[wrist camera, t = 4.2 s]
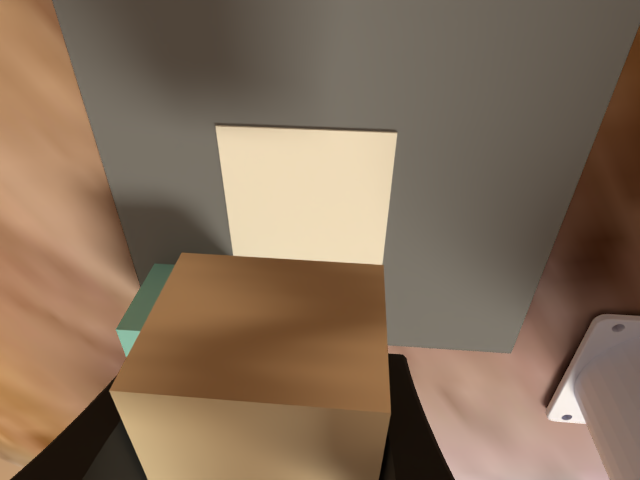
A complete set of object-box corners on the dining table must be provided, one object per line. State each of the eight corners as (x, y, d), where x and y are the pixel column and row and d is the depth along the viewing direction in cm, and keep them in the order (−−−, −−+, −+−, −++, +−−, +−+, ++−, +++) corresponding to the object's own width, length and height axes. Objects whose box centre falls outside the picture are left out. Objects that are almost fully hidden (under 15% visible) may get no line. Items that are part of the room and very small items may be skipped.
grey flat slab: (684, -108, 12) (693, -108, 12) (509, 348, 23) (511, 354, 22) (24, -111, 13) (15, -112, 13) (156, 325, 24) (153, 331, 23)
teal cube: (241, 268, 20) (217, 336, 17) (248, 329, 23) (229, 398, 20) (154, 263, 21) (115, 329, 18) (170, 324, 23) (139, 392, 20)
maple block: (383, 265, 11) (390, 412, 8) (367, 389, 14) (368, 533, 11) (181, 252, 11) (109, 390, 8) (208, 377, 14) (163, 514, 11)
